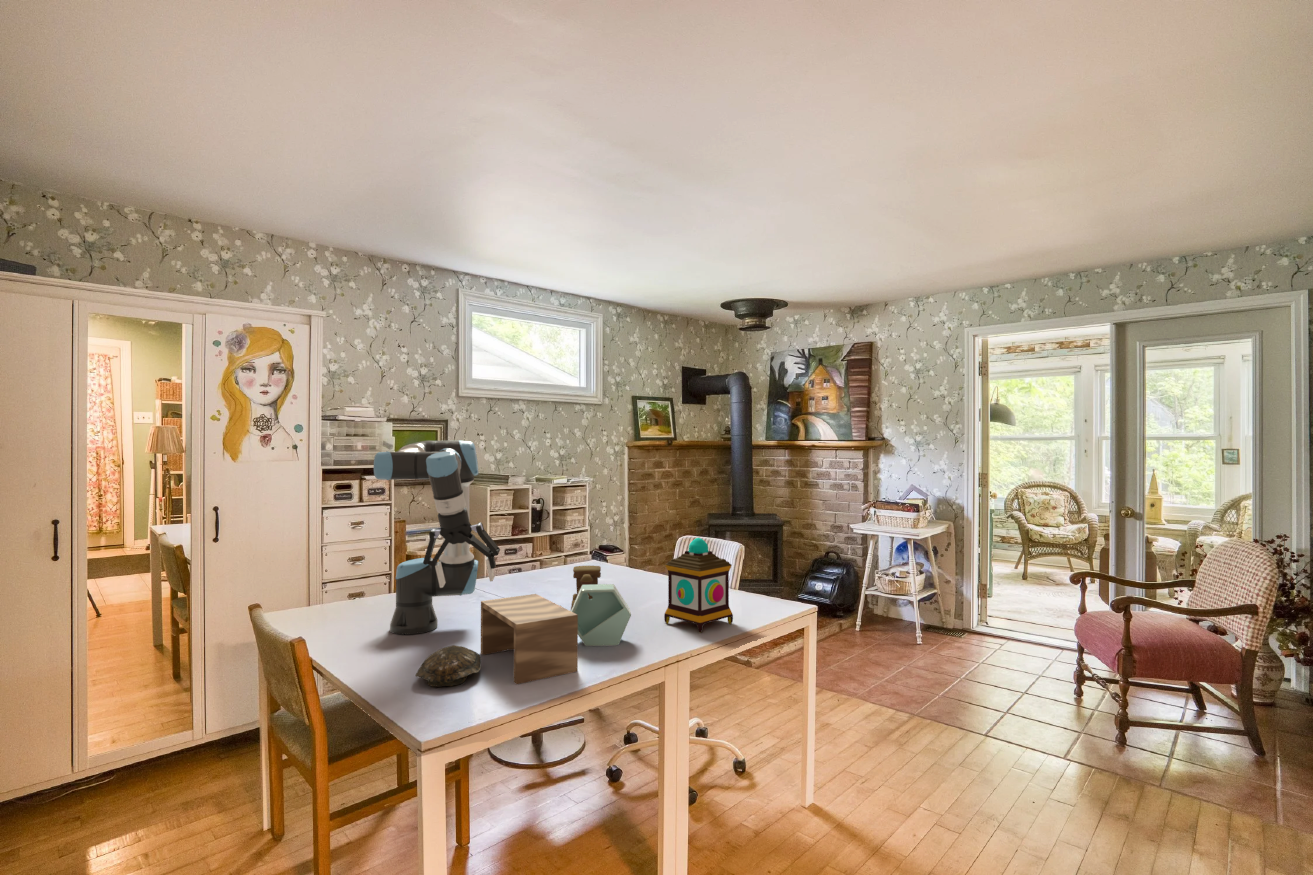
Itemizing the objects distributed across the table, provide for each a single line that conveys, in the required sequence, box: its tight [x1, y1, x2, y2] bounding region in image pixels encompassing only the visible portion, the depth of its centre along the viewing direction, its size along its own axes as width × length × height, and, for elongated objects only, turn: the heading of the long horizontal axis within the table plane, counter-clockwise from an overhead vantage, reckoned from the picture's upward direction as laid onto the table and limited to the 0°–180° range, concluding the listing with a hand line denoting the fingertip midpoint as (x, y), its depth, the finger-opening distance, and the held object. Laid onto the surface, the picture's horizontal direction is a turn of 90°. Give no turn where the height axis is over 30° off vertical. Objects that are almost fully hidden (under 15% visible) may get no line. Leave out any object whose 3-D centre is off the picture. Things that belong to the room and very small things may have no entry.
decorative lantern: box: [663, 537, 734, 634], centre depth 220 cm, size 20×20×30 cm
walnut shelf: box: [480, 593, 579, 685], centre depth 180 cm, size 30×18×16 cm, turn 33°
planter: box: [570, 583, 632, 647], centre depth 198 cm, size 17×8×21 cm
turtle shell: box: [415, 644, 482, 687], centre depth 168 cm, size 16×9×20 cm
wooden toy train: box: [570, 565, 602, 611], centre depth 230 cm, size 20×11×17 cm, turn 5°
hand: (467, 582), depth 171 cm, fingers open, 13 cm apart
